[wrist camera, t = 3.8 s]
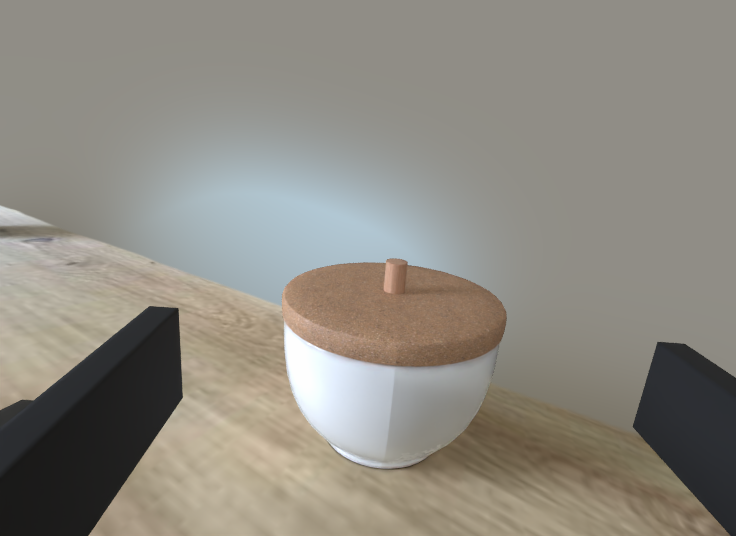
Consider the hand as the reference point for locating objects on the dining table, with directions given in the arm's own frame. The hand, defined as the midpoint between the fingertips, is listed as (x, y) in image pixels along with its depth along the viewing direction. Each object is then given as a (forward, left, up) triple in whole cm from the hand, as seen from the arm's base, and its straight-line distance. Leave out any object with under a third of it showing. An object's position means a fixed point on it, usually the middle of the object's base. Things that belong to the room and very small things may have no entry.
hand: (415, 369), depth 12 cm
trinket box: (+2, -9, -9) cm, 13 cm away
